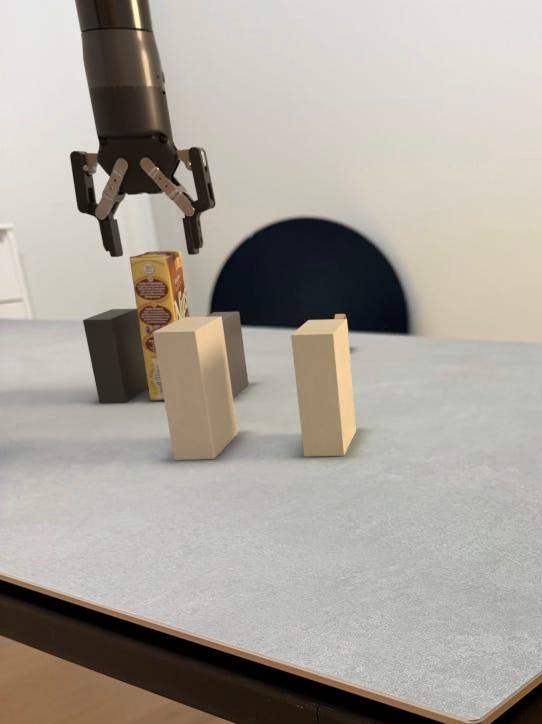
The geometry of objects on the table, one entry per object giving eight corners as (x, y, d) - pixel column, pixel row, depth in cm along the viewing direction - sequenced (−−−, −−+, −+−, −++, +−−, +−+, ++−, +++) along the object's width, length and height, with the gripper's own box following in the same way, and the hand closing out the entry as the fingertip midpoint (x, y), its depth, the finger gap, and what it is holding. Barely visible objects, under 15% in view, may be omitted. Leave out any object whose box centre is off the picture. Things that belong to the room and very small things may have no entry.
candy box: (188, 400, 108) (166, 255, 101) (150, 402, 107) (124, 256, 100) (201, 384, 116) (181, 249, 109) (165, 386, 115) (143, 250, 108)
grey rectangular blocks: (99, 403, 107) (82, 319, 103) (126, 386, 116) (111, 309, 112) (231, 399, 107) (219, 316, 103) (249, 383, 115) (238, 305, 111)
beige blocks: (174, 460, 85) (152, 332, 80) (201, 435, 93) (183, 317, 88) (344, 456, 85) (332, 327, 80) (356, 431, 93) (346, 313, 88)
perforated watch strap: (331, 353, 133) (328, 316, 131) (336, 348, 138) (333, 311, 135) (350, 353, 133) (347, 316, 131) (355, 347, 137) (352, 311, 135)
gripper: (42, 85, 94) (78, 260, 101) (185, 79, 94) (210, 256, 101) (72, 90, 101) (104, 254, 108) (205, 85, 101) (228, 250, 108)
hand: (155, 255), depth 105 cm, fingers open, 8 cm apart
